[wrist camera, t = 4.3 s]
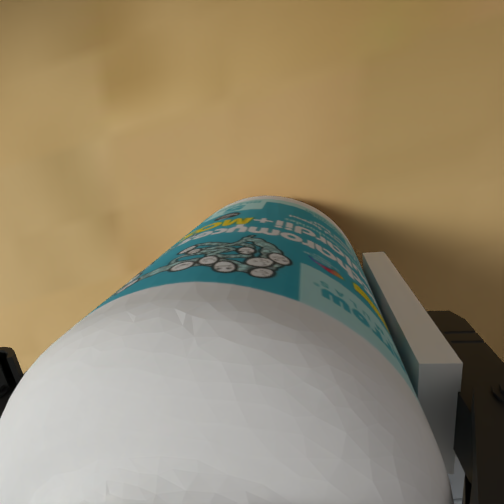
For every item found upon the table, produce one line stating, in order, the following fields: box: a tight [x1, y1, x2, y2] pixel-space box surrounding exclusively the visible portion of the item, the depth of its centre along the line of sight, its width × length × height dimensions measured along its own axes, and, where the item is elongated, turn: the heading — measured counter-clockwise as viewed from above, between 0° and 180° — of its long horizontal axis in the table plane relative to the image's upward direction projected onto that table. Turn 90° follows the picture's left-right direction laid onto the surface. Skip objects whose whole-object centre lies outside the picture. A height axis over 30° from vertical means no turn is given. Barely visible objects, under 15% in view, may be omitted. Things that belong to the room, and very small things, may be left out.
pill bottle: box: [0, 196, 454, 504], centre depth 9 cm, size 8×7×14 cm
